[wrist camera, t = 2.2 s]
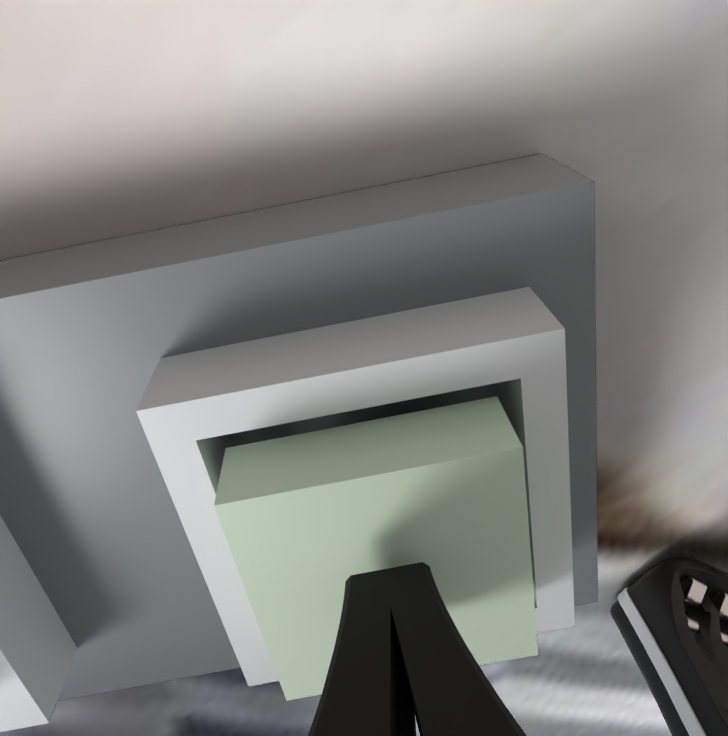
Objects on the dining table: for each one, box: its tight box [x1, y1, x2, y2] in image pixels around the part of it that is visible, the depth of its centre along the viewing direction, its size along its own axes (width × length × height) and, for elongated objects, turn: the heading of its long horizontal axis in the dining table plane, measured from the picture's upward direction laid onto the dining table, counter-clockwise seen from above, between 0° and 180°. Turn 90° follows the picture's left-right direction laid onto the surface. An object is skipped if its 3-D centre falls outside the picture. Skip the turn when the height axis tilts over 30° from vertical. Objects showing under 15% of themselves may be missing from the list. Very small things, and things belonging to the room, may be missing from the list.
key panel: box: [0, 154, 598, 732], centre depth 15 cm, size 11×22×5 cm, turn 100°
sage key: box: [214, 396, 538, 701], centre depth 12 cm, size 5×5×2 cm
